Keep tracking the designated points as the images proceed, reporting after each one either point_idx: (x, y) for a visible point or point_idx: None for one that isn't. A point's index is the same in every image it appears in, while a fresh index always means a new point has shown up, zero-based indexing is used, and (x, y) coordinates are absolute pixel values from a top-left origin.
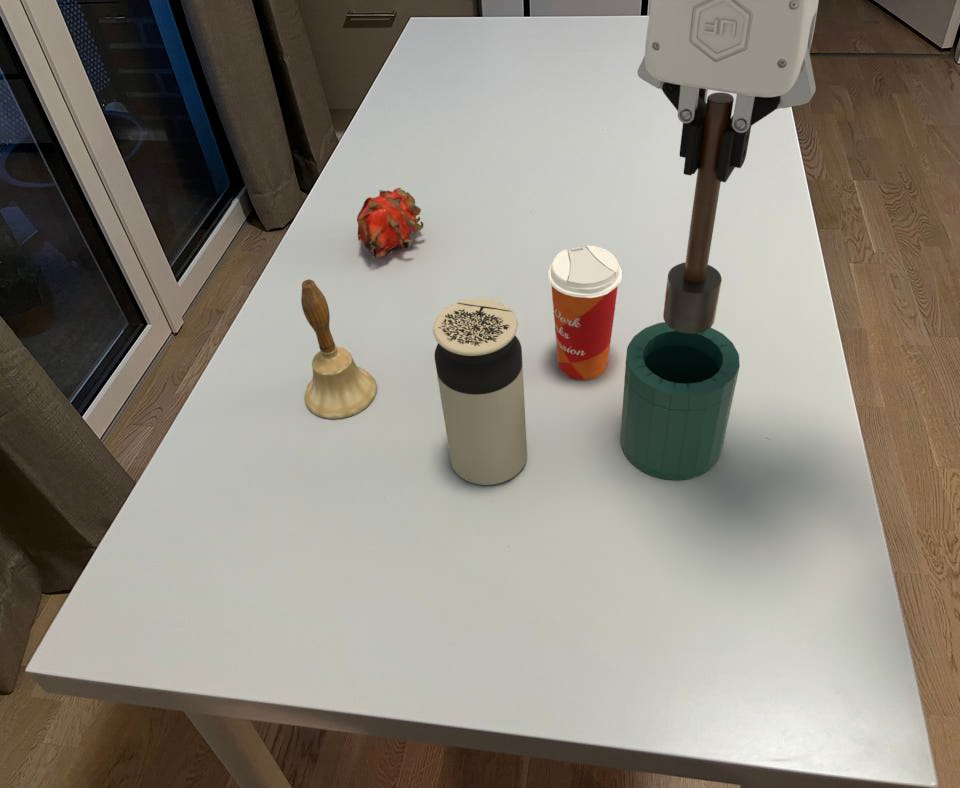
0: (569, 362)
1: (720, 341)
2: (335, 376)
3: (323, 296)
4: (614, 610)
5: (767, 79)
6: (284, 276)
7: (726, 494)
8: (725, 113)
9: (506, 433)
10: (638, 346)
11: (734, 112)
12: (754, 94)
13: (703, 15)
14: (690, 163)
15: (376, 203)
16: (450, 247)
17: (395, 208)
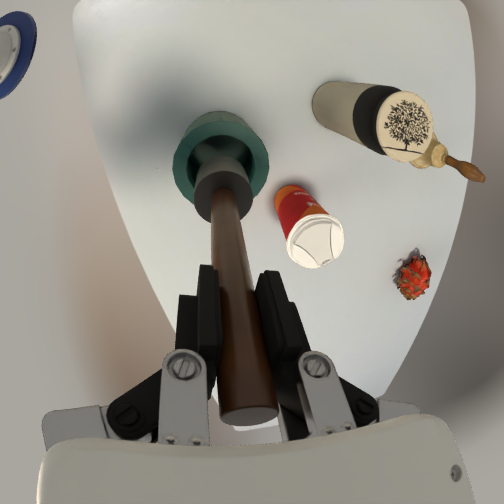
0: (301, 189)
1: (193, 194)
2: (435, 144)
3: (471, 176)
4: (230, 13)
5: (100, 497)
6: (451, 231)
7: (174, 112)
8: (229, 387)
9: (338, 89)
10: (260, 170)
11: (205, 392)
12: (138, 450)
13: None
14: (272, 285)
15: (426, 283)
16: (378, 276)
17: (416, 285)
